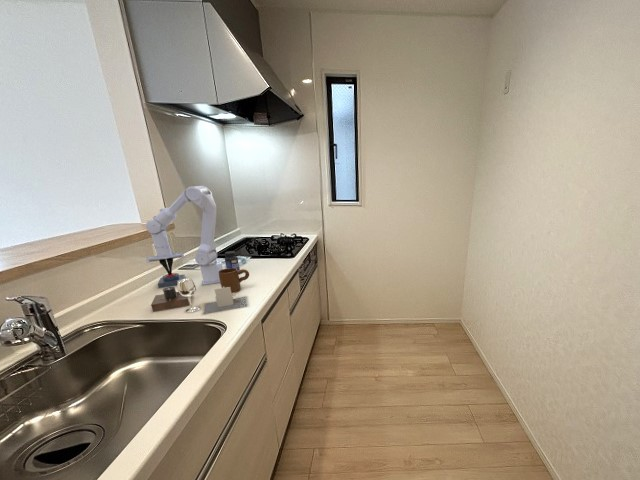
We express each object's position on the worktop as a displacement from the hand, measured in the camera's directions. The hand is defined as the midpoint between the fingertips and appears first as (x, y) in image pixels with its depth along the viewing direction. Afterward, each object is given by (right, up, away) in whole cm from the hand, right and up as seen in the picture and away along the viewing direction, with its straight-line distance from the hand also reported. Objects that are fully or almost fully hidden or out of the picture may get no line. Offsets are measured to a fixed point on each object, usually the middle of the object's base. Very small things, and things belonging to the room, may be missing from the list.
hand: (170, 274), depth 148 cm
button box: (0, -4, +2) cm, 4 cm away
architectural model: (+39, -14, -24) cm, 48 cm away
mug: (+36, -8, -8) cm, 38 cm away
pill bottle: (+23, +1, +16) cm, 28 cm away
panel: (+17, -13, -22) cm, 30 cm away
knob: (+17, -10, -23) cm, 30 cm away
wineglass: (+28, -15, -28) cm, 42 cm away
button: (0, -2, +1) cm, 2 cm away
